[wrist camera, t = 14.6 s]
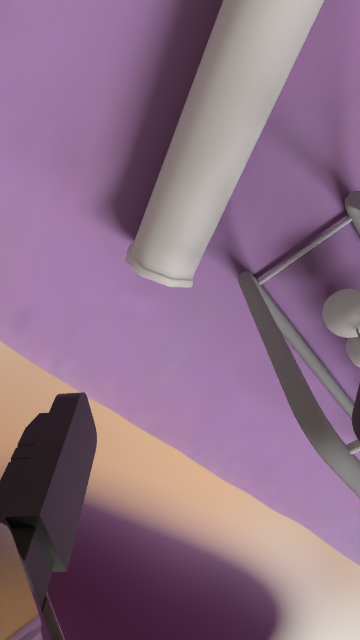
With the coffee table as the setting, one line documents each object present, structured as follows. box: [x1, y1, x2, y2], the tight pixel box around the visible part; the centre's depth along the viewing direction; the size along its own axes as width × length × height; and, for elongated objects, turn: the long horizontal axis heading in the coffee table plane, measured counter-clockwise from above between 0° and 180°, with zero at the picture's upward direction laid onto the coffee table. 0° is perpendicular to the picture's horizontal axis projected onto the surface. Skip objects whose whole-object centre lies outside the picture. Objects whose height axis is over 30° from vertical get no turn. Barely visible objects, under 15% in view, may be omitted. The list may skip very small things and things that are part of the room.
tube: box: [125, 0, 324, 288], centre depth 20 cm, size 5×5×25 cm
